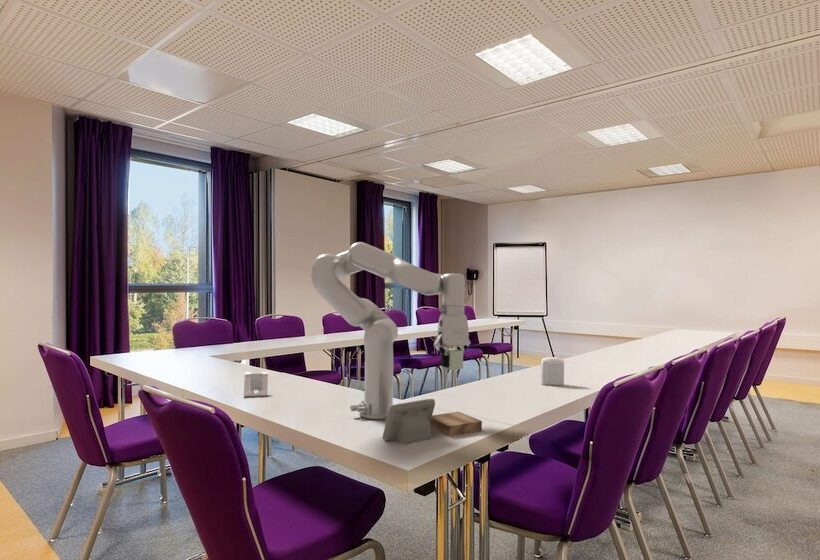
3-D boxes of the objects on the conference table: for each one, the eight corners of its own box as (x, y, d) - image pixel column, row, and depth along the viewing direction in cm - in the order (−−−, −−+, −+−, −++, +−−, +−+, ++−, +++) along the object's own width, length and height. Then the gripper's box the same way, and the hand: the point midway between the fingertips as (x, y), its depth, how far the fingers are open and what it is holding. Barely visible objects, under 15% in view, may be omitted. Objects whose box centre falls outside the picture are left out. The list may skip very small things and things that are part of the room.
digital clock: (427, 430, 144) (427, 395, 144) (442, 439, 136) (442, 402, 136) (377, 437, 136) (378, 400, 137) (390, 447, 128) (390, 407, 129)
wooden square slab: (448, 436, 138) (449, 426, 138) (426, 425, 148) (427, 416, 148) (481, 431, 144) (481, 421, 144) (458, 420, 154) (458, 411, 154)
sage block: (450, 370, 153) (451, 351, 153) (441, 367, 157) (441, 349, 157) (462, 368, 156) (463, 350, 156) (453, 366, 160) (453, 348, 160)
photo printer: (562, 384, 216) (562, 356, 217) (565, 386, 212) (565, 358, 212) (539, 383, 217) (539, 356, 217) (541, 385, 213) (542, 357, 213)
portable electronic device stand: (243, 397, 181) (244, 375, 181) (244, 393, 188) (245, 371, 188) (267, 396, 183) (267, 374, 183) (267, 392, 191) (267, 371, 191)
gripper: (438, 312, 149) (438, 370, 149) (480, 311, 158) (479, 365, 158) (425, 310, 155) (424, 366, 155) (465, 310, 165) (464, 362, 164)
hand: (452, 365), depth 157 cm, fingers closed on sage block, 5 cm apart
